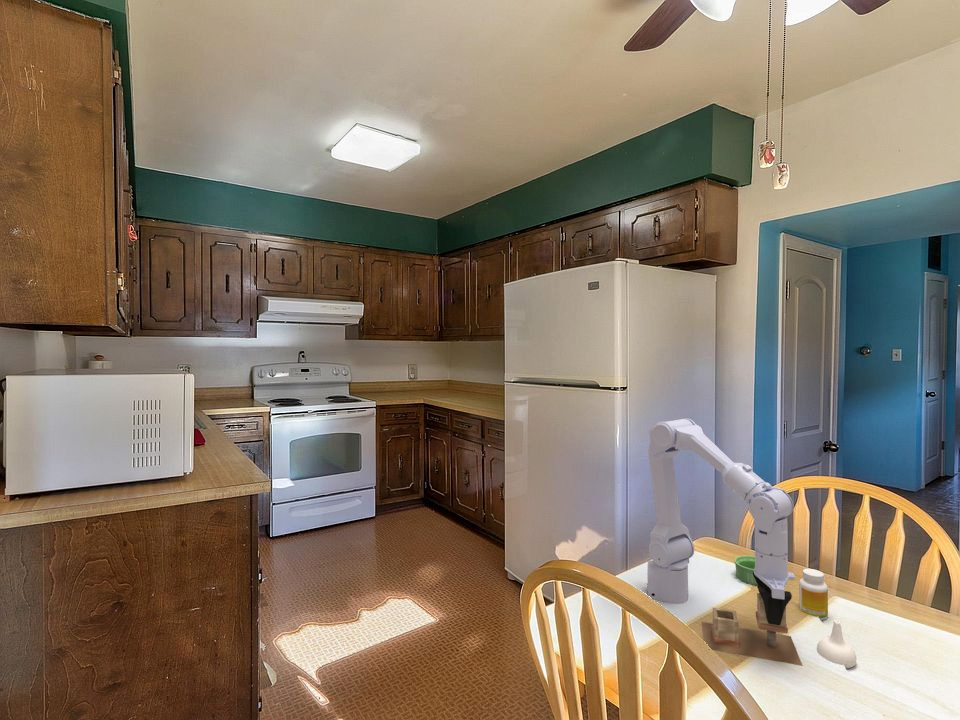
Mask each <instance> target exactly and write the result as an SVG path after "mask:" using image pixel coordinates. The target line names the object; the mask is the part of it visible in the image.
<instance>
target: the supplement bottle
mask: <svg viewBox="0 0 960 720" xmlns="http://www.w3.org/2000/svg"><path fill="white" fill-rule="evenodd" d="M802 577H803V578H802ZM802 577H801V579H800V580H799V583H798V585H799V586H798V587H799V597H798V598H799V600H798V601H799V604H798V605H799V609H800V611H802V612H803V613H805V614H807V615H810V616H813V617H817V618H818V619H819V620H820V621H825V620H827V619H828V618H829V617H828V616H829V606H828V605H829V592H828V591H829V587H828V584H827V583H825V574H824V572H822V571H821V570H817V569H814V568H804V569H803V570H802Z"/></svg>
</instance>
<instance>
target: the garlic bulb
mask: <svg viewBox="0 0 960 720" xmlns="http://www.w3.org/2000/svg"><path fill="white" fill-rule="evenodd" d="M841 623H842V622H841V621H840V620H837V619H833V625H832V630H831V634H830V636H824V637H823V638H820V639H819V640H818V642H817V645H816V650H817V653H818V654H819V655H820V656H821V657H822V658H823V659H826V660H827V661H830V662H832V663H835V664H839V665H842V666H844V668H845V669H850V668H853V667H854V666H855V665H856V663H857V654H856V651H855V650H854V648H853V647H852V646H851V645H850V644H849V643H848V642H846V640H844V635H843V630H842V626H841Z"/></svg>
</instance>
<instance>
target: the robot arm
mask: <svg viewBox="0 0 960 720" xmlns="http://www.w3.org/2000/svg"><path fill="white" fill-rule="evenodd" d="M648 433H649V440H650V441H649V448H648V460H649V466H650V475H651V482H652V483H651V484H652V491H653V493H652V494H653V500H654V508H655V515H656V516H655V517H656V525H655V526H654V528H653V529H652V531H651V532H650V534H649V536H650V538H649V539H650V542H649V545H648V552H649V556H650V559H651V560H647V583H646V592H647V596H648V595H649V596H650V597H651V598H652V599H651V600H655V601H656V600H657V601H662V602H665V603H669V604H674V605H677V604H678V605H679V604H684V603H686V602H688V600H689V564H690V559H691V558H692V557H693V556H694V554H695V544H694V542H693V540H692V538H691V535H690V530H689V528H688V527H687V526H686V525H684V524H683V523H682V520H681V511H680V504H679V503H680V502H679V496H678V489H677V488H678V487H677V480H676V479H677V478H676V471H675V463H674V458H675V456H677V454H678V453H679V452H680V451H692V452H694V453H695V454H696V455H697V456H699V457H701V459H703V460H704V461H706V462H707V463H708V464H709V465H710V466H712V467H713V468H714V469H715V470H717V471H718V473H721V476H722V478H721V479H722V482H723V483H724V485H726V486H727V487H728V488H729V489H730V490H732V492H734V493H735V494H736V495H737V496H738V497H739V498H740V499H741V500H743V501H744V503H746V504H747V508H748V512H749V514H750V515H751V517H752V519H753V526H754V556H755V568H754V572H753V576H754V578H755V580H756V582H757V584H758V585H756V587H757V591H758V592H759V593H760V595H761V597H762V599H763V602H764V606H765V613H766V618H767V621H768V623H769V624H774V625H780V624H781V621H782V618H783V614H784V610H785V608H786V609H787V606H788V604H789V602H790V601H791V600H792V598H793V595H792V592H791V591H789V590H787V591H786V590H785V589H786V586H787V584H788V582H789V581H794V580H796V576H795V574H794V573H793V572H791V571H789V565H788V563H789V561H788V560H789V557H788V556H789V555H788V553H789V550H788V549H789V547H788V546H789V542H788V540H789V539H788V537H789V535H788V534H789V533H788V526H789V525H788V516H790V515H791V514H792V513H793V511H794V502H793V499H792V497H791V496H790V495H789V494H788V493H787V491H786V490H785V489H783V488H780V487H774V486H772V484H771V483H769V482H766V481H765V480H764V479H762V478H761V477H760V476H759V475H757V473H755V472H754V471H753V468H752V467H751V466H750V465H749V464H745V463H743V462H734V461H733V460H731V459H730V457H728V456H727V455H726V454H725V453H724V452H723V451H722V450H721V449H720V448H719V447H718V446H717V445H716V444H715V443H714V442H713V441H712V440H711V439H710V438H709V437H707V436H706V435H705V433H704V432H703V429H702V427H701V426H700V425H698V424H696V422H695V421H694V420H692V419H690V418H686V417H683V418H681V419H674V420H667V421H658V422H656V423H655V424H654V425H653V426H652V427H651V429H649V431H648ZM653 594H654V595H653Z"/></svg>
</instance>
